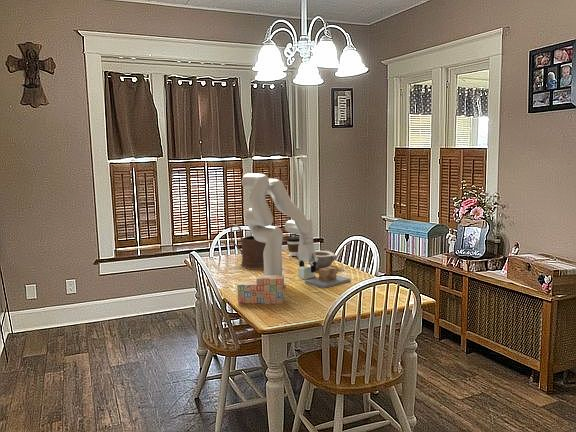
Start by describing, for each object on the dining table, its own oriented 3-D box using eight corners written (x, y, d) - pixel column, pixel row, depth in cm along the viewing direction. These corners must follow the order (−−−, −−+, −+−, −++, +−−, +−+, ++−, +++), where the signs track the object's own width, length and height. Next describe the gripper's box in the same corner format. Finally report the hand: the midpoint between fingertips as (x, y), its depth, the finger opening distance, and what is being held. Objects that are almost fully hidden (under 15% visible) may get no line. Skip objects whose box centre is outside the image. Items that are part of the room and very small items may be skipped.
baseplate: (323, 288, 267) (323, 285, 267) (305, 283, 278) (305, 280, 278) (350, 281, 280) (350, 278, 279) (332, 276, 290) (332, 274, 290)
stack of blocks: (237, 304, 244) (236, 278, 242) (240, 300, 250) (239, 275, 249) (283, 304, 242) (282, 278, 240) (284, 300, 248) (284, 275, 247)
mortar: (338, 270, 306) (338, 254, 305) (310, 272, 302) (310, 256, 301) (330, 264, 322) (330, 249, 321) (303, 266, 319) (303, 251, 317)
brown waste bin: (267, 268, 314) (265, 227, 311) (228, 268, 318) (226, 227, 315) (272, 262, 332) (271, 223, 329) (235, 261, 336) (234, 223, 333)
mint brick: (304, 279, 286) (304, 268, 285) (298, 278, 290) (298, 267, 289) (315, 277, 291) (314, 266, 290) (309, 275, 295) (308, 265, 294)
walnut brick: (325, 281, 274) (325, 270, 273) (319, 280, 278) (318, 268, 277) (336, 279, 279) (336, 268, 278) (329, 277, 283) (329, 266, 282)
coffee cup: (295, 253, 357) (295, 236, 356) (306, 255, 349) (305, 237, 347) (283, 255, 350) (282, 238, 349) (293, 258, 342) (293, 240, 340)
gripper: (291, 239, 292) (292, 269, 295) (311, 243, 279) (313, 274, 282) (301, 237, 297) (302, 266, 300) (322, 241, 284) (323, 271, 286)
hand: (307, 270), depth 291 cm, fingers open, 9 cm apart
